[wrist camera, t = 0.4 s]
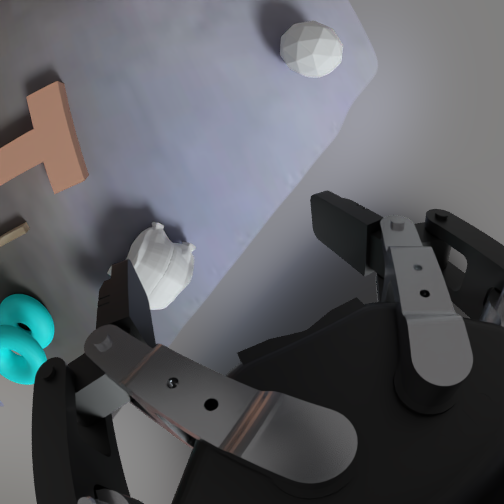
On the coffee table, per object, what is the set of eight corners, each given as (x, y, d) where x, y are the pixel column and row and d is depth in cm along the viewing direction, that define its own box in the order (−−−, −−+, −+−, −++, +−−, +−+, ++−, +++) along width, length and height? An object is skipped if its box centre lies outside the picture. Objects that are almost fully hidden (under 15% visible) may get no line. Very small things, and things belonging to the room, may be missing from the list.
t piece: (-15, 127, 20) (-26, 129, 18) (64, 83, 23) (57, 80, 20) (12, 212, 26) (4, 220, 24) (88, 175, 29) (84, 180, 27)
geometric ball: (299, 56, 34) (352, 69, 31) (270, 80, 32) (329, 95, 29) (294, 11, 27) (353, 21, 24) (261, 29, 25) (328, 39, 22)
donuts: (20, 395, 26) (-29, 350, 21) (30, 349, 35) (-9, 306, 29) (60, 376, 28) (6, 324, 22) (67, 327, 36) (26, 278, 30)
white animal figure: (138, 215, 37) (87, 311, 34) (155, 216, 30) (92, 336, 27) (186, 246, 41) (138, 336, 39) (213, 254, 35) (156, 362, 32)
